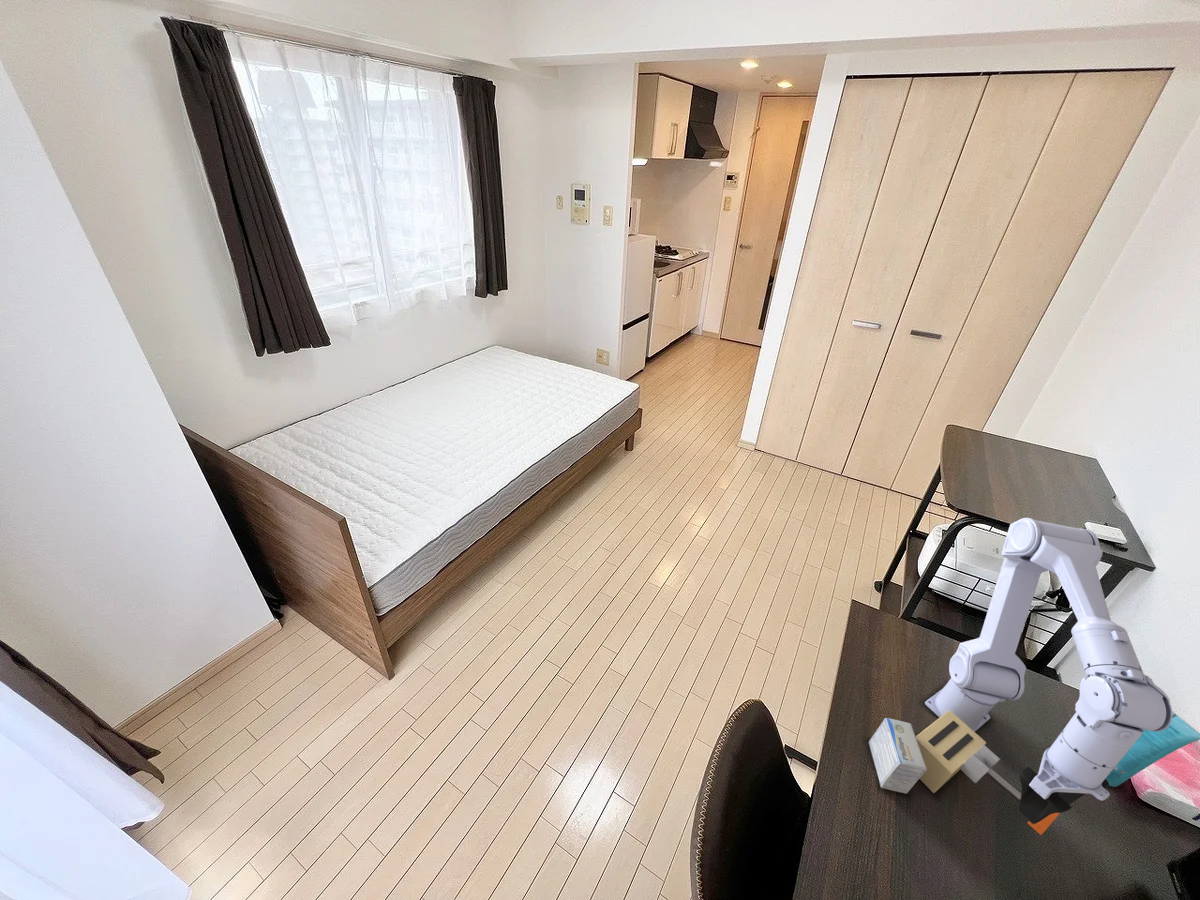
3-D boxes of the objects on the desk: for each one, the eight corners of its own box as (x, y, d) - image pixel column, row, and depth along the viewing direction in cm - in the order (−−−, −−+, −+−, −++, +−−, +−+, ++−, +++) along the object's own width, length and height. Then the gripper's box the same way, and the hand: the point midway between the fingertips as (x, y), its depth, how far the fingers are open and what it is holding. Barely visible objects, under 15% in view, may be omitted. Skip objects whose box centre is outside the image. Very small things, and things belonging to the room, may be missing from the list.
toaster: (932, 730, 92) (955, 702, 87) (982, 776, 86) (1010, 749, 81) (898, 757, 87) (920, 729, 82) (948, 809, 81) (976, 782, 76)
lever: (980, 757, 82) (985, 750, 81) (1054, 819, 74) (1060, 813, 73) (966, 770, 80) (970, 764, 79) (1041, 835, 72) (1046, 829, 71)
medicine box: (906, 795, 82) (928, 770, 78) (879, 788, 83) (899, 763, 78) (892, 747, 89) (912, 722, 84) (867, 741, 89) (885, 716, 85)
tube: (1132, 788, 86) (1212, 731, 76) (1116, 798, 84) (1196, 741, 74) (1085, 747, 92) (1154, 688, 82) (1069, 755, 90) (1137, 696, 80)
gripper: (1095, 792, 60) (1044, 855, 66) (1152, 759, 66) (1101, 819, 71) (1033, 741, 66) (990, 802, 72) (1090, 715, 72) (1046, 773, 77)
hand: (1041, 807), depth 72 cm, fingers open, 7 cm apart
